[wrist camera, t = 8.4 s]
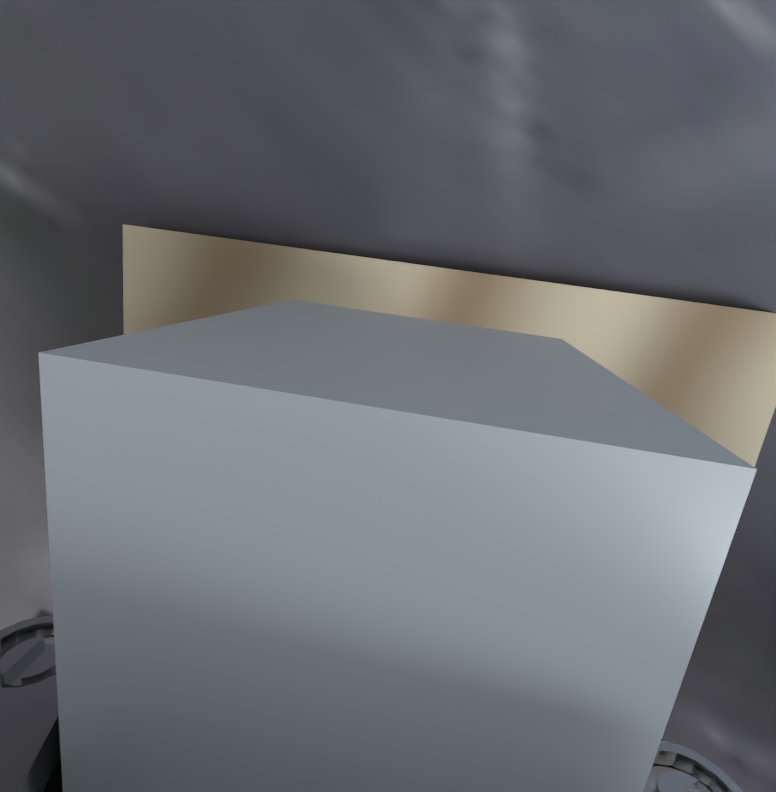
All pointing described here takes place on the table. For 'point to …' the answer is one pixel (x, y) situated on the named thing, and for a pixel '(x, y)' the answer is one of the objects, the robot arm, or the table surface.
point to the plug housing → (369, 557)
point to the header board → (481, 317)
